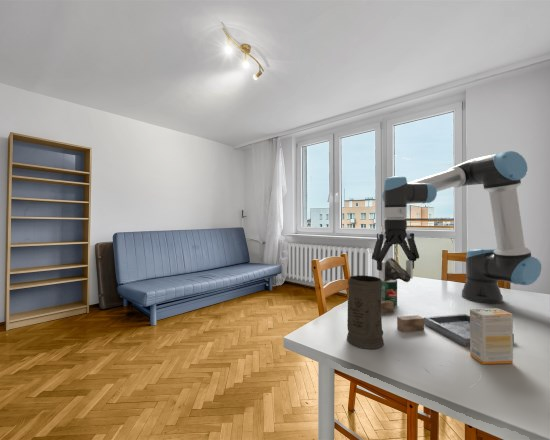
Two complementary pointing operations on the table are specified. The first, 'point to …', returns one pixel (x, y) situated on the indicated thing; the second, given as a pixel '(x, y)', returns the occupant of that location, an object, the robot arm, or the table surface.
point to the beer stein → (365, 312)
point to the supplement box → (491, 336)
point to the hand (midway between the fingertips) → (395, 278)
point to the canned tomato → (389, 291)
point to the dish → (452, 327)
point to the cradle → (403, 318)
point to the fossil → (395, 271)
